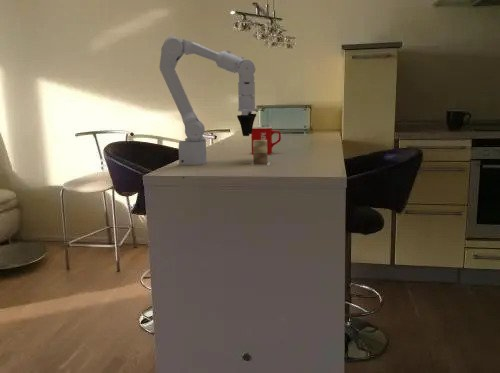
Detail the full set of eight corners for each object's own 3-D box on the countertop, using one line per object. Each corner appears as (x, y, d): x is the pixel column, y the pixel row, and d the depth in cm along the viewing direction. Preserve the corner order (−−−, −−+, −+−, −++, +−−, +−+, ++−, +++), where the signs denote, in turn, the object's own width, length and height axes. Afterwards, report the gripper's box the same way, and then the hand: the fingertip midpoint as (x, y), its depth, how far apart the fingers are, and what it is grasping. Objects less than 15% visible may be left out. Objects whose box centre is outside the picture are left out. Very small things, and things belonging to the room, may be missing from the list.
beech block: (253, 153, 164) (252, 141, 163) (254, 151, 168) (254, 139, 168) (266, 153, 163) (266, 141, 163) (267, 151, 168) (267, 139, 167)
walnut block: (253, 164, 165) (253, 153, 164) (254, 162, 169) (254, 151, 168) (266, 164, 164) (266, 153, 164) (267, 162, 169) (267, 151, 168)
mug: (250, 154, 198) (250, 128, 196) (253, 152, 206) (253, 127, 204) (279, 154, 196) (279, 128, 194) (281, 152, 204) (281, 126, 202)
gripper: (256, 95, 161) (256, 136, 163) (259, 95, 175) (260, 133, 177) (235, 96, 161) (236, 137, 164) (240, 95, 175) (241, 133, 178)
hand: (247, 135), depth 171 cm, fingers open, 7 cm apart
